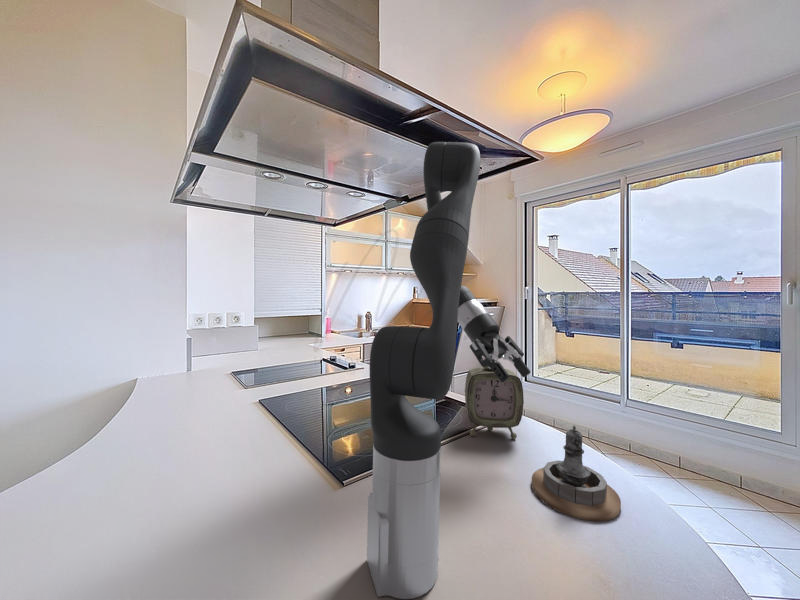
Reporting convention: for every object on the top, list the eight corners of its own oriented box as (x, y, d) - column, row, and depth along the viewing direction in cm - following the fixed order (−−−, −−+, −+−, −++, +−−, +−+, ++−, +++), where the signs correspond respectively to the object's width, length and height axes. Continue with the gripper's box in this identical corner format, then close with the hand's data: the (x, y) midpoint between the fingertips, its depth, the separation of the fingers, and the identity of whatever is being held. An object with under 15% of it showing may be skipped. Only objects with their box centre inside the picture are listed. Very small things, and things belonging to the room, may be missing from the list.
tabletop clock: (466, 438, 85) (468, 344, 85) (463, 425, 94) (465, 340, 93) (522, 442, 83) (525, 347, 83) (514, 428, 92) (516, 342, 92)
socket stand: (576, 529, 52) (577, 506, 52) (515, 479, 66) (515, 461, 66) (640, 510, 57) (641, 490, 57) (570, 467, 71) (571, 451, 71)
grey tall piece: (557, 491, 60) (558, 428, 60) (554, 475, 66) (556, 417, 65) (592, 499, 58) (594, 434, 58) (587, 482, 63) (588, 422, 63)
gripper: (466, 312, 73) (510, 372, 64) (502, 311, 82) (545, 364, 73) (448, 333, 77) (487, 392, 68) (484, 330, 86) (522, 382, 77)
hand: (517, 377), depth 71 cm, fingers open, 8 cm apart
